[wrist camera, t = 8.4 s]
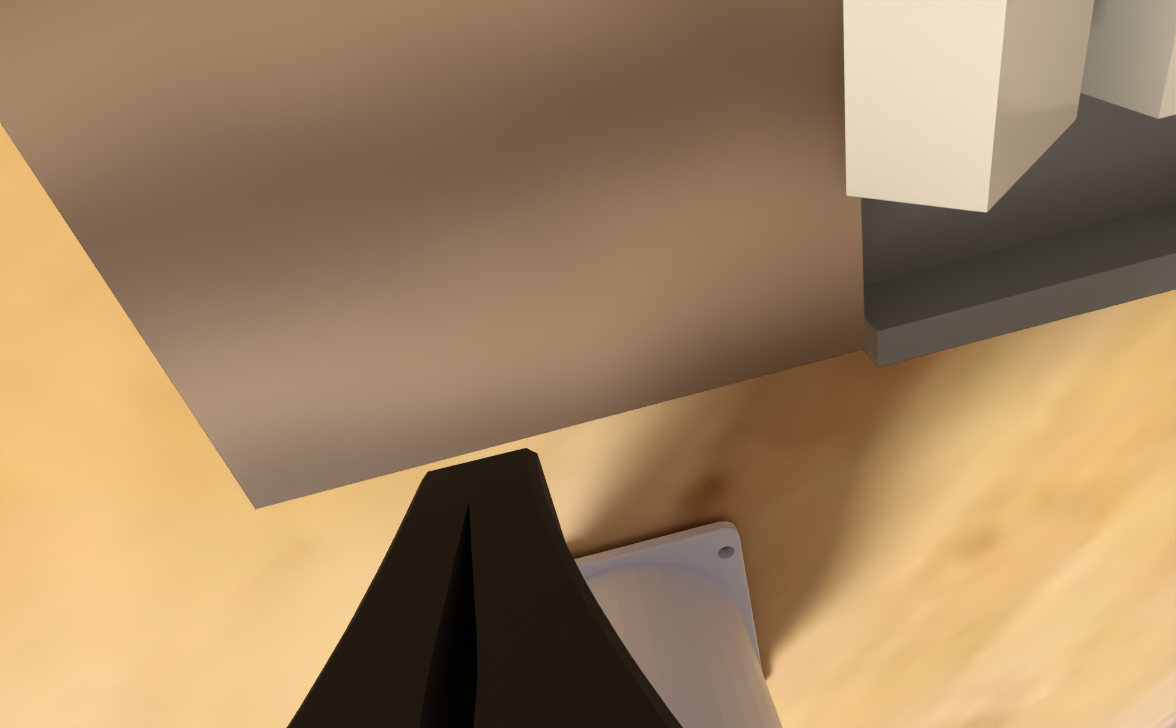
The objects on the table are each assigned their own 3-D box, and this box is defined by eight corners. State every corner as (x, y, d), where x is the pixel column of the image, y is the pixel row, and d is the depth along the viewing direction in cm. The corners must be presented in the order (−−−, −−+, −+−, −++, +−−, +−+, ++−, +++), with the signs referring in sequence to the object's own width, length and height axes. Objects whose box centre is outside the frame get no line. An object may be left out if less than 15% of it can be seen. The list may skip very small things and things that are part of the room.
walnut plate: (814, 288, 19) (865, 348, 17) (284, 428, 19) (255, 509, 17) (769, -334, 13) (843, -391, 10) (-29, -109, 13) (-153, -109, 10)
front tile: (947, 113, 17) (1076, 119, 15) (846, 195, 14) (986, 212, 13) (961, -126, 14) (1117, -151, 12) (841, -76, 12) (1015, -99, 10)
